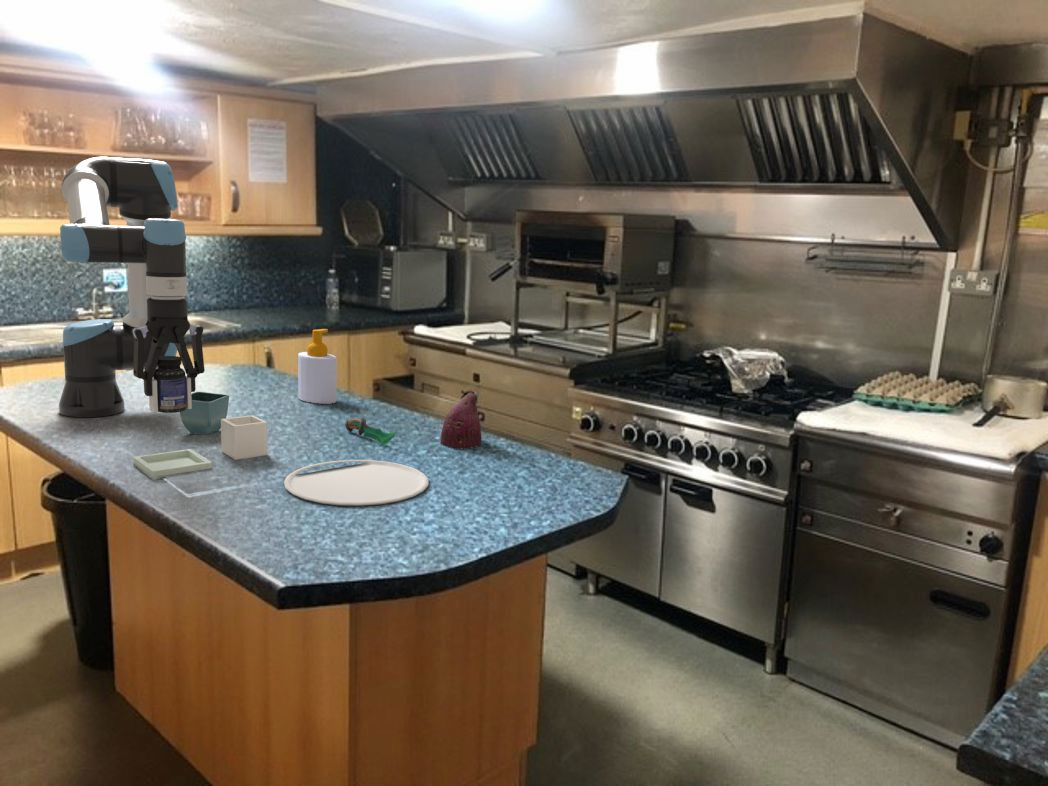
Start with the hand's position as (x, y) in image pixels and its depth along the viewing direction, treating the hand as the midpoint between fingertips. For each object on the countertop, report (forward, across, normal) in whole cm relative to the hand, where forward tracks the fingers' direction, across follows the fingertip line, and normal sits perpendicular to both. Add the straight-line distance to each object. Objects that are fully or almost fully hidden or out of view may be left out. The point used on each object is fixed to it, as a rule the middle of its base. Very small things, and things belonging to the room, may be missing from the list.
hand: (170, 409), depth 177 cm
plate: (+13, +27, -29) cm, 42 cm away
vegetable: (+13, +64, -15) cm, 67 cm away
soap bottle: (+13, +56, +43) cm, 72 cm away
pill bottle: (+1, 0, 0) cm, 1 cm away
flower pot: (+13, +16, +24) cm, 32 cm away
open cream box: (+13, +16, +1) cm, 20 cm away
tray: (+13, 0, 0) cm, 13 cm away
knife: (+13, +46, -2) cm, 48 cm away
